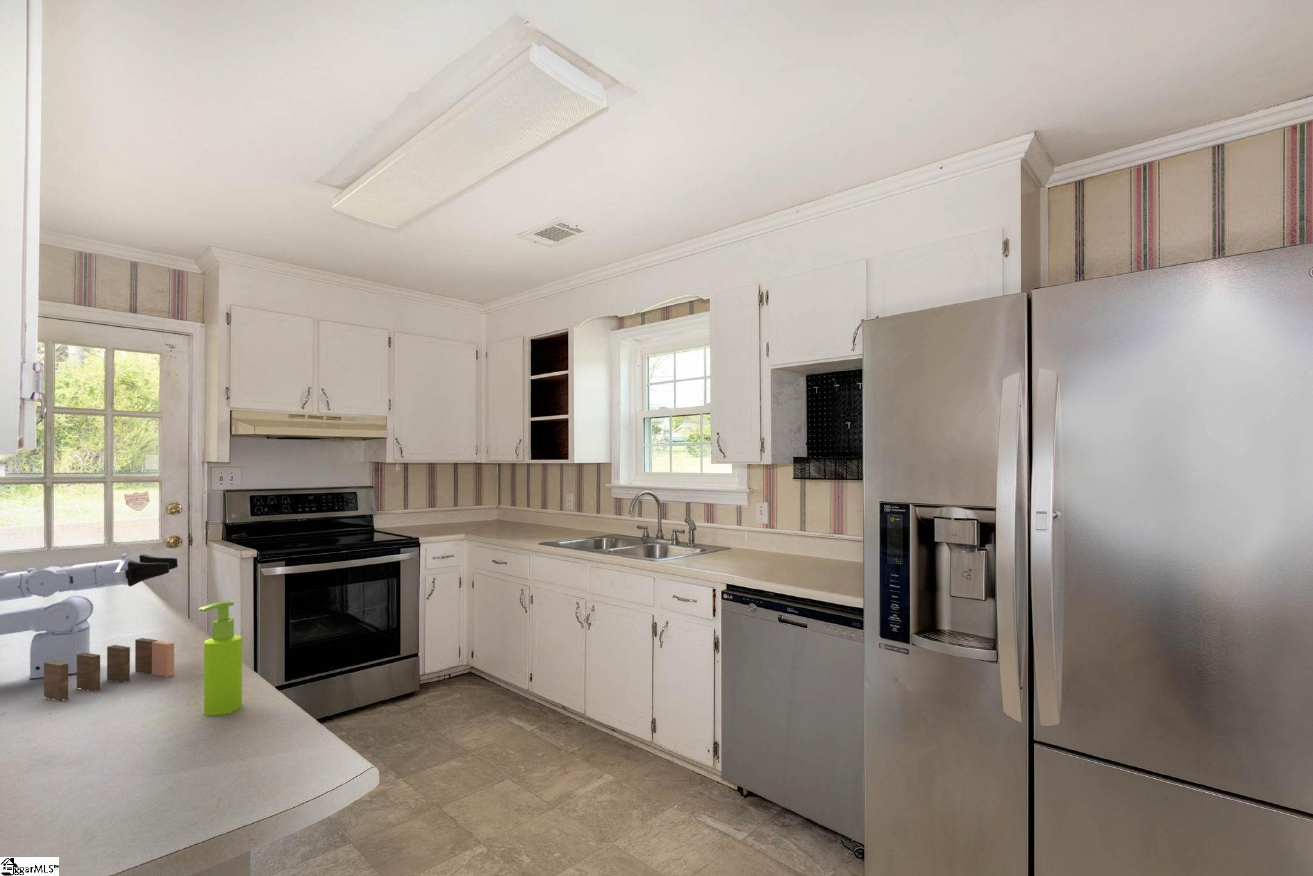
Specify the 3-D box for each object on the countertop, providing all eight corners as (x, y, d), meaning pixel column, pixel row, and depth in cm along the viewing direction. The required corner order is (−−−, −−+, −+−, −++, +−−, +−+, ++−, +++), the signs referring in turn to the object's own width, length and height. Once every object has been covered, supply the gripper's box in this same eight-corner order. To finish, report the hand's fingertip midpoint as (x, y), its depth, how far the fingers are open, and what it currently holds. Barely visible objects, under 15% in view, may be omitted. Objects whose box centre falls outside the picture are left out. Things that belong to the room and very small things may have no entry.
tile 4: (92, 691, 133) (92, 657, 133) (76, 688, 135) (76, 654, 135) (100, 689, 134) (100, 654, 135) (84, 686, 136) (84, 652, 136)
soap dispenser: (191, 714, 121) (191, 605, 121) (230, 701, 127) (230, 597, 127) (209, 720, 118) (209, 608, 119) (248, 706, 124) (248, 600, 125)
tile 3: (122, 682, 138) (122, 649, 138) (106, 680, 140) (107, 646, 140) (129, 680, 140) (129, 647, 140) (114, 677, 141) (114, 644, 141)
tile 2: (150, 674, 143) (150, 641, 144) (135, 671, 145) (135, 639, 145) (157, 672, 145) (157, 640, 145) (142, 669, 147) (142, 637, 147)
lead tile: (167, 677, 141) (167, 644, 141) (151, 674, 143) (151, 642, 143) (174, 675, 143) (174, 642, 143) (158, 672, 144) (158, 640, 145)
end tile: (59, 701, 128) (59, 665, 128) (43, 698, 130) (44, 662, 130) (68, 699, 129) (68, 663, 129) (52, 696, 131) (52, 660, 131)
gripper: (86, 562, 142) (163, 552, 148) (109, 552, 156) (179, 544, 161) (89, 594, 142) (165, 584, 148) (112, 582, 156) (181, 573, 161)
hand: (173, 565), depth 155 cm, fingers open, 7 cm apart
